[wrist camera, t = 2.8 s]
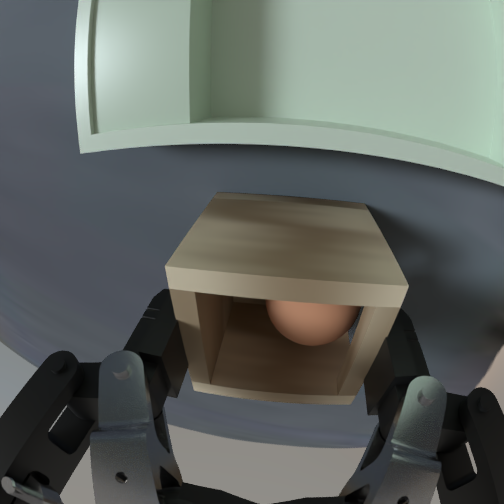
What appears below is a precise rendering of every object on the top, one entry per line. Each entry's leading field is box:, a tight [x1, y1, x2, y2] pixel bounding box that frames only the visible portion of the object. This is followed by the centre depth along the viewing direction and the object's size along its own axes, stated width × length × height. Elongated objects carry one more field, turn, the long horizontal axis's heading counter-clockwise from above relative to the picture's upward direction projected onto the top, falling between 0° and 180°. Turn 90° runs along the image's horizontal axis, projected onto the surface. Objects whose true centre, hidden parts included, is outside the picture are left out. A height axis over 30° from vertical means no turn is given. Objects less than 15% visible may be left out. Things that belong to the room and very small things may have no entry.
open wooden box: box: [165, 192, 409, 404], centre depth 10 cm, size 6×6×5 cm
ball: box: [265, 299, 361, 346], centre depth 10 cm, size 4×4×4 cm
